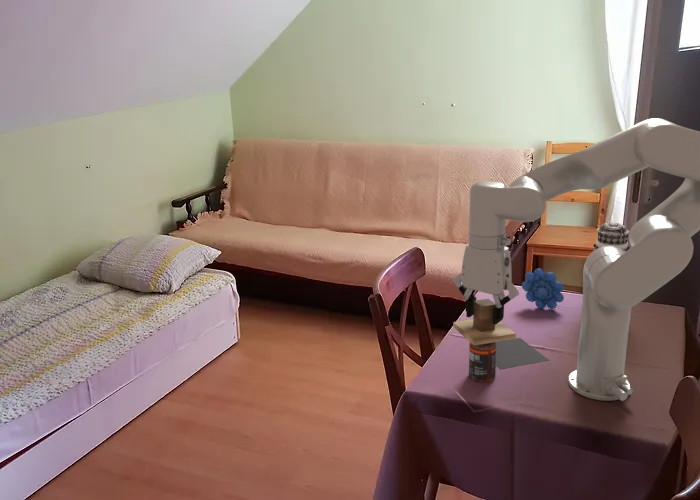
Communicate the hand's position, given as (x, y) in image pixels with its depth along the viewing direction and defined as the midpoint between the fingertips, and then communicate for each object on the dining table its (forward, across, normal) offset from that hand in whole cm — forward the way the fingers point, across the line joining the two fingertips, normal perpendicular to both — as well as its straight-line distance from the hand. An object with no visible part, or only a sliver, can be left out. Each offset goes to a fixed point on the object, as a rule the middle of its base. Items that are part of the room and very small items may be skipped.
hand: (484, 318), depth 139 cm
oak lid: (+4, 0, 0) cm, 4 cm away
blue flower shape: (+15, +5, -44) cm, 47 cm away
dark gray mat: (+15, 0, -14) cm, 21 cm away
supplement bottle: (+15, 0, 0) cm, 15 cm away
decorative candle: (+15, -10, -54) cm, 57 cm away
